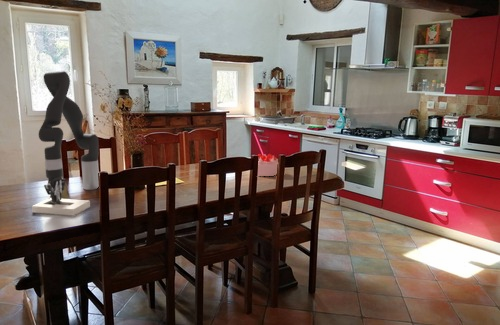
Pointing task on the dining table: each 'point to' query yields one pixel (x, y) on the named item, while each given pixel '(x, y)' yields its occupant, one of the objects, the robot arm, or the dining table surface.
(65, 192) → the rock
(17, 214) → the dining table surface
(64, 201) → the keyhole board
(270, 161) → the cake
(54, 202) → the bolt
